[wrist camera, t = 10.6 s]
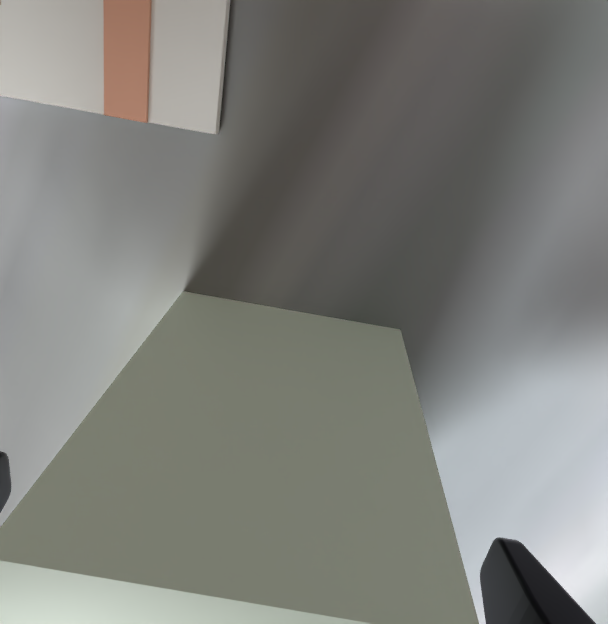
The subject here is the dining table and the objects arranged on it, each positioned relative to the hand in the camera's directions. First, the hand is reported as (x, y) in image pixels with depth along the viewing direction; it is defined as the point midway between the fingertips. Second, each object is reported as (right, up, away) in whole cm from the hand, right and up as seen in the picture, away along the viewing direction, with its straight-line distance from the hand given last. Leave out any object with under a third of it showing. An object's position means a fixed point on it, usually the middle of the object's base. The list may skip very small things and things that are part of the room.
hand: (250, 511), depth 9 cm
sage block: (0, +1, +3) cm, 4 cm away
